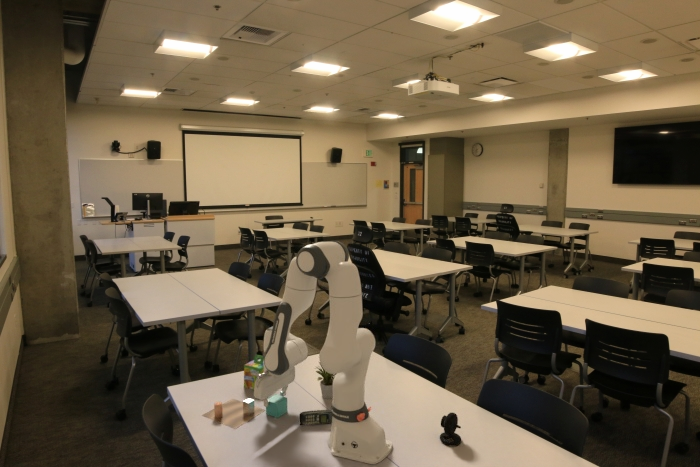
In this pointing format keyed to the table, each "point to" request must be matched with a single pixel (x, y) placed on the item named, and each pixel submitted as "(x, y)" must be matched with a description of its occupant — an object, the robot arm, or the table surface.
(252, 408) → the beige wooden block
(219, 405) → the terracotta peg
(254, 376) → the chalk box
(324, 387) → the house plant
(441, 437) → the webcam
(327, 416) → the mobile phone
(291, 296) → the robot arm
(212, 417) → the walnut board
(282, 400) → the mint green cube
